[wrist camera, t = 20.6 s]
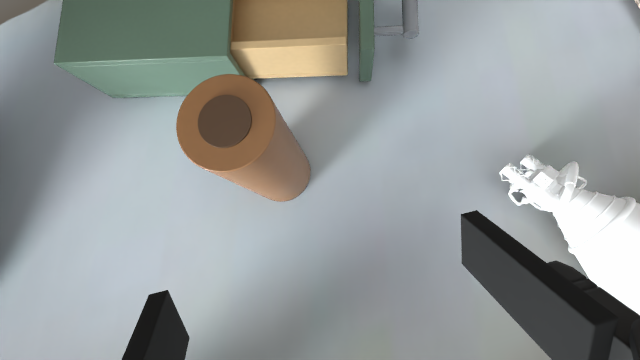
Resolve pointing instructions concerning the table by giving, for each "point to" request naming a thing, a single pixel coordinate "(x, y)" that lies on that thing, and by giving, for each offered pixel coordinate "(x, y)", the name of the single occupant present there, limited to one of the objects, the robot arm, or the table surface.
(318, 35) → the drawer
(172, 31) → the cabinet
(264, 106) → the paper roll
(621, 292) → the rocket engine
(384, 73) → the table surface
